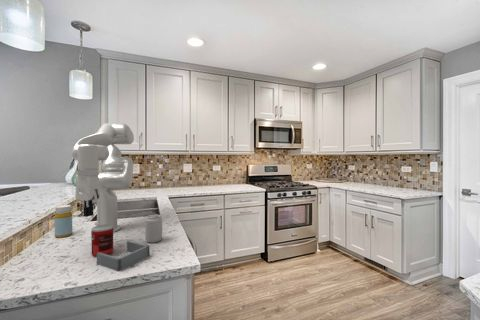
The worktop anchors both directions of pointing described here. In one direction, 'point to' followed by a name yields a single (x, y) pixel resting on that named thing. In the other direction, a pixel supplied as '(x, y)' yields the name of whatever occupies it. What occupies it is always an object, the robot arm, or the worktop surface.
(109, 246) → the canned food
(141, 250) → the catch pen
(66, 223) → the bottle
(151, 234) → the can
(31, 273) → the worktop surface
